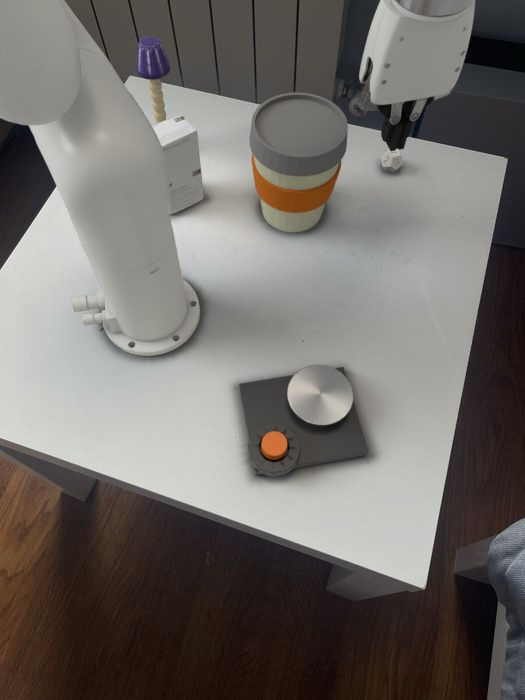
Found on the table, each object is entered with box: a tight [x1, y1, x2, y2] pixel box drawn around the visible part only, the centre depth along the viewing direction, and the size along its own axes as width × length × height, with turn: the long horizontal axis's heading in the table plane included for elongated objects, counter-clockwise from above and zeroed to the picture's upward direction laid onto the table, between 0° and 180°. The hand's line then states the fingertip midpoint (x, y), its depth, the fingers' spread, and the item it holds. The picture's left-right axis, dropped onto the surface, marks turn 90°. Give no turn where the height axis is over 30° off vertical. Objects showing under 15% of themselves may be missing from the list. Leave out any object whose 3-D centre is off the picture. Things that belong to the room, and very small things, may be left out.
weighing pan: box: [287, 364, 354, 426], centre depth 62 cm, size 8×8×1 cm
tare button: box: [261, 431, 287, 460], centre depth 59 cm, size 3×3×2 cm
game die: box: [380, 148, 404, 173], centre depth 83 cm, size 4×4×3 cm
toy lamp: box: [136, 35, 171, 125], centre depth 79 cm, size 5×5×17 cm
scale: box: [238, 366, 369, 478], centre depth 62 cm, size 13×12×3 cm
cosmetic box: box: [152, 114, 205, 215], centre depth 75 cm, size 6×4×12 cm
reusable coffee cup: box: [249, 92, 349, 233], centre depth 73 cm, size 13×13×15 cm
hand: (392, 142), depth 66 cm, fingers closed
